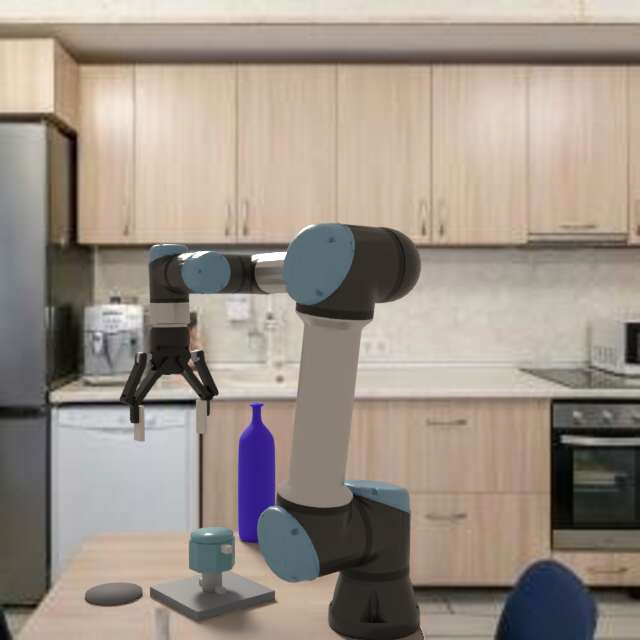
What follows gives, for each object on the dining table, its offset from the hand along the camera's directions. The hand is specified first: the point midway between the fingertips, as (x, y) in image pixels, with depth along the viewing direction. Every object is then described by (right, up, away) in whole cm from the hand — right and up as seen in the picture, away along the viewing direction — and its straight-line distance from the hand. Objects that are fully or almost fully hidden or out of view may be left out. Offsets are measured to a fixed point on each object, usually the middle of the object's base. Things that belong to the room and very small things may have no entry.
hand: (171, 437), depth 162 cm
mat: (-9, -27, -10) cm, 30 cm away
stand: (+9, -27, -11) cm, 31 cm away
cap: (+9, -22, -11) cm, 26 cm away
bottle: (+14, -26, +26) cm, 40 cm away
